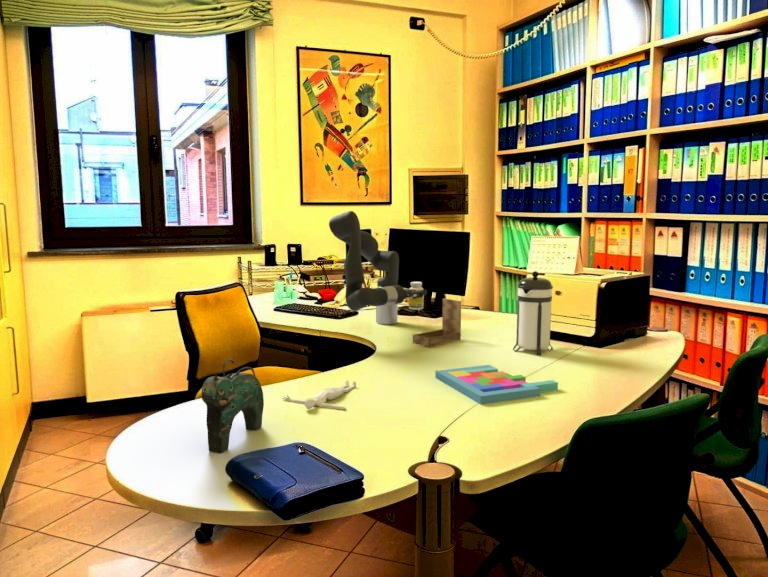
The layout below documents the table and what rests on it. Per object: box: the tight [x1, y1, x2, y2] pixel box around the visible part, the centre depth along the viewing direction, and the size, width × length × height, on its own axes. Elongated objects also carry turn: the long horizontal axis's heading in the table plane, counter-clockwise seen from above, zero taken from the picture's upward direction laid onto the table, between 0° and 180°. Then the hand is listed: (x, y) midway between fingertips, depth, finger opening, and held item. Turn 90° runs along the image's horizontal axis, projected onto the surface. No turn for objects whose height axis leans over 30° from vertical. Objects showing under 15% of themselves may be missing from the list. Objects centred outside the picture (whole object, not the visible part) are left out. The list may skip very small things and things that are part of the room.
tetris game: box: [434, 364, 559, 405], centre depth 189 cm, size 28×3×28 cm
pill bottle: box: [408, 281, 425, 311], centre depth 257 cm, size 6×6×11 cm
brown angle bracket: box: [412, 298, 462, 348], centre depth 246 cm, size 9×18×16 cm, turn 132°
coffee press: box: [512, 270, 554, 356], centre depth 231 cm, size 17×16×30 cm
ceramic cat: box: [201, 358, 265, 454], centre depth 145 cm, size 20×6×20 cm, turn 158°
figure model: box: [282, 380, 357, 411], centre depth 177 cm, size 21×4×25 cm
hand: (420, 291), depth 258 cm, fingers closed on pill bottle, 6 cm apart
